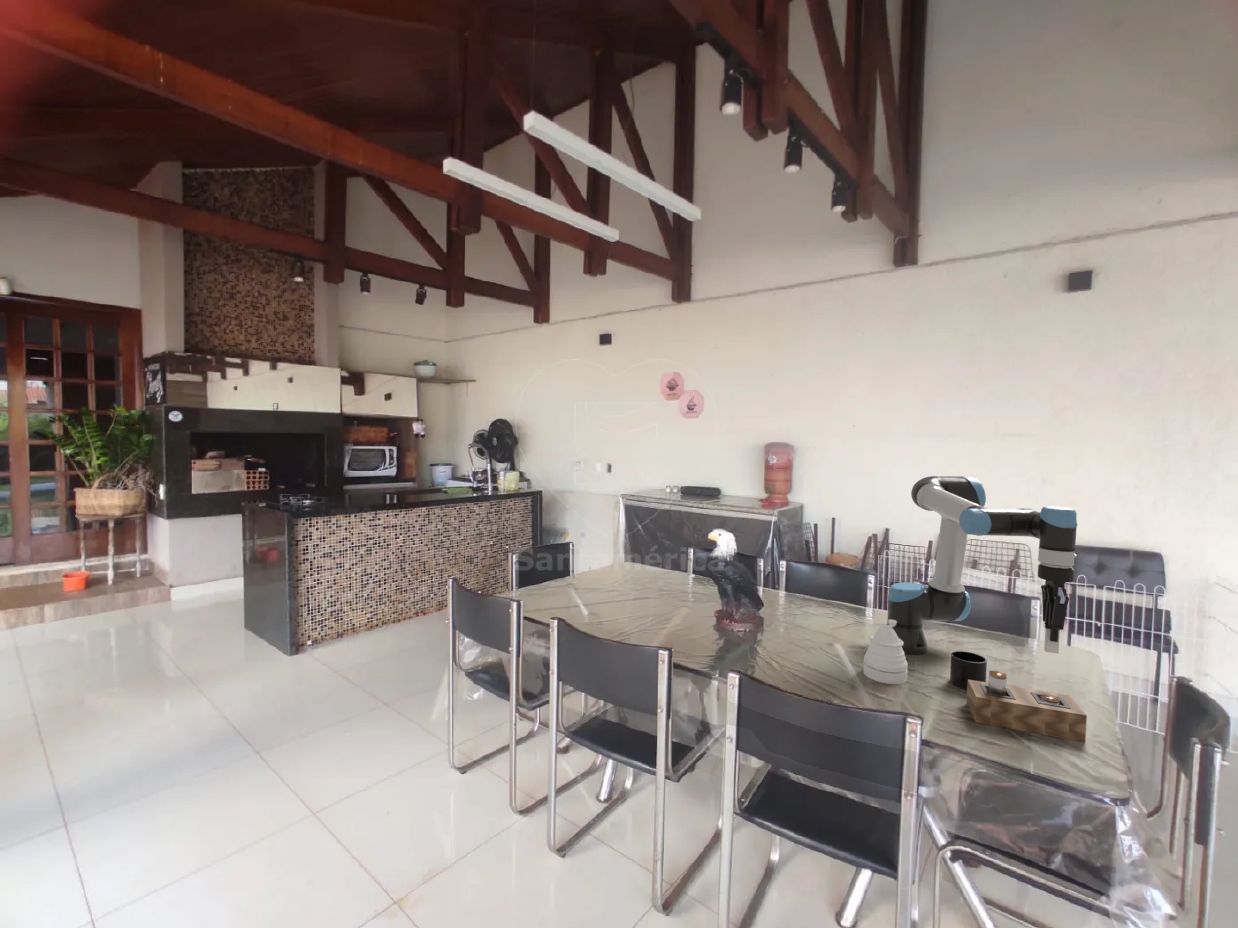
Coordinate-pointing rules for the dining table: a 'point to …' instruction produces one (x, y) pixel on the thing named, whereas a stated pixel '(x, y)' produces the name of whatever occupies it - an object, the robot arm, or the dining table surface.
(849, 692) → the dining table surface
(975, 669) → the mug
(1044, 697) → the peg
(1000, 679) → the peg
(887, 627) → the honey pot
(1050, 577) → the robot arm
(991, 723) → the socket block
